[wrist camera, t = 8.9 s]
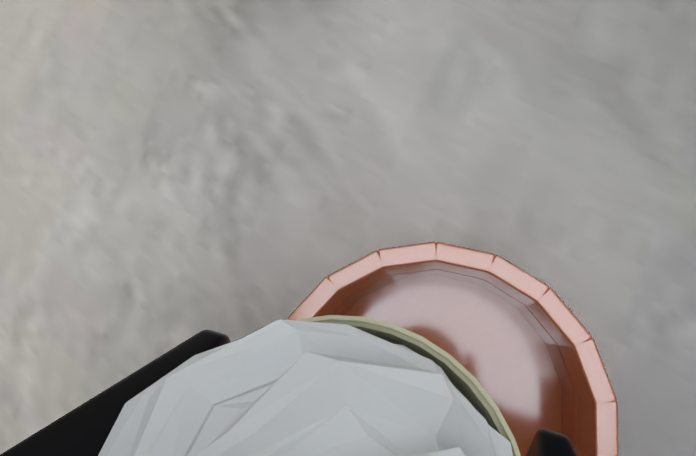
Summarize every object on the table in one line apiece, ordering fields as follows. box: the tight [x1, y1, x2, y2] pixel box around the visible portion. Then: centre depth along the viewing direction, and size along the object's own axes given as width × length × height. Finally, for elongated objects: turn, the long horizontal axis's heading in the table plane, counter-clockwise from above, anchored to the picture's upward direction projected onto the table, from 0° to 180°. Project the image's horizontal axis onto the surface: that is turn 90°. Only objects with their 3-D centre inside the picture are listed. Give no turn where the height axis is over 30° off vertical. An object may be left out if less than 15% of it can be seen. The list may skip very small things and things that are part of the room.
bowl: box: [288, 242, 618, 456], centre depth 19 cm, size 10×10×5 cm
